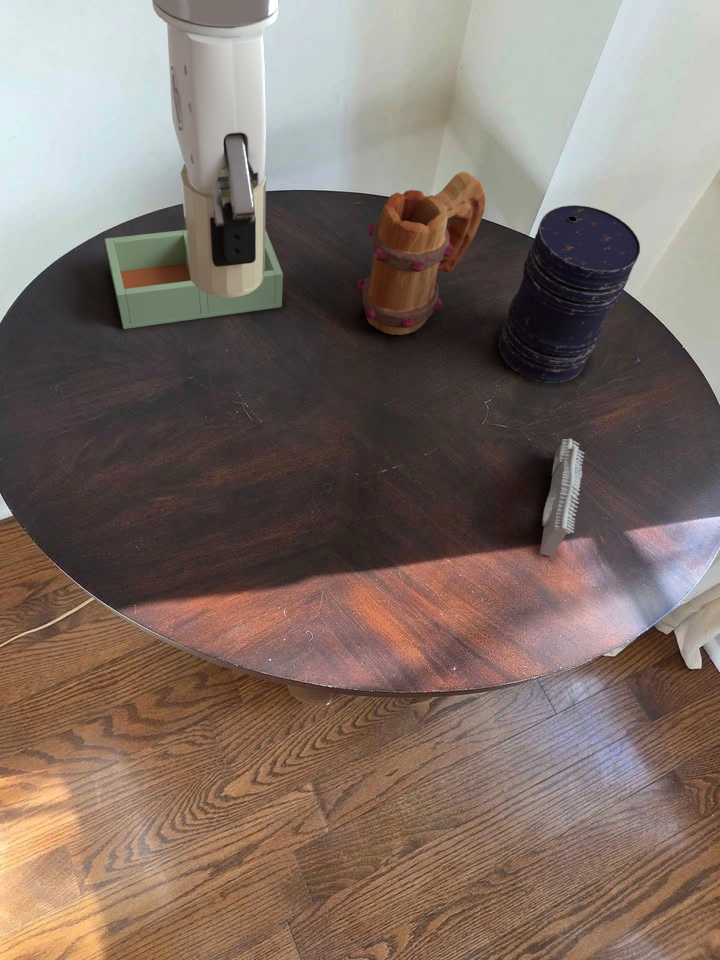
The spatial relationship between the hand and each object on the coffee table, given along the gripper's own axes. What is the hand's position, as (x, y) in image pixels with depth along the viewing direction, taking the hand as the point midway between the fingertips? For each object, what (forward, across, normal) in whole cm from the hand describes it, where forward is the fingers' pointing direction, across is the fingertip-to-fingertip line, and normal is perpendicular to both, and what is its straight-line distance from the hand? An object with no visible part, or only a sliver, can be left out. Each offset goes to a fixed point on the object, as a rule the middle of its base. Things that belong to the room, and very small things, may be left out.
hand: (224, 232), depth 60 cm
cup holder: (+20, -16, 0) cm, 25 cm away
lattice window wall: (+20, +19, +27) cm, 38 cm away
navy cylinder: (+20, 0, +34) cm, 40 cm away
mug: (+20, -9, +22) cm, 31 cm away
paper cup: (+4, 0, 0) cm, 4 cm away
